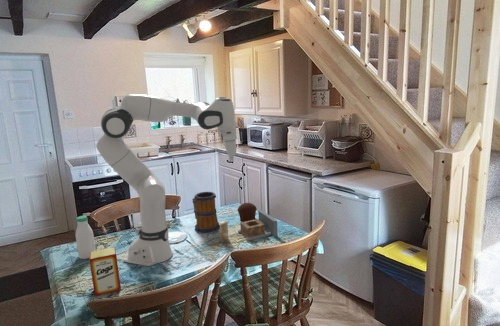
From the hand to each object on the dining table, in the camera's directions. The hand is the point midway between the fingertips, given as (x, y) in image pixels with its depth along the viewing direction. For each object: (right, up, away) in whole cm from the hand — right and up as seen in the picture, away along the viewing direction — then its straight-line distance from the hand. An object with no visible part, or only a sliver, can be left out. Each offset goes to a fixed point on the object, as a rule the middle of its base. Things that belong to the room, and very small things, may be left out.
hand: (230, 157), depth 168 cm
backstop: (+13, -41, +14) cm, 45 cm away
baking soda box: (-47, -53, -32) cm, 78 cm away
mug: (-16, -40, +26) cm, 50 cm away
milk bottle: (-69, -48, -3) cm, 84 cm away
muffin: (+8, -37, +35) cm, 51 cm away
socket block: (+11, -41, +13) cm, 44 cm away
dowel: (-3, -43, +7) cm, 44 cm away
